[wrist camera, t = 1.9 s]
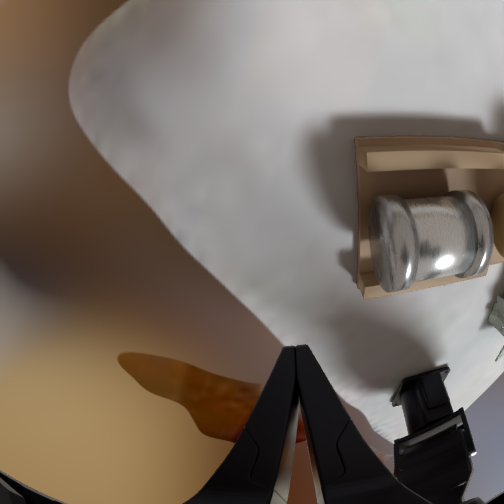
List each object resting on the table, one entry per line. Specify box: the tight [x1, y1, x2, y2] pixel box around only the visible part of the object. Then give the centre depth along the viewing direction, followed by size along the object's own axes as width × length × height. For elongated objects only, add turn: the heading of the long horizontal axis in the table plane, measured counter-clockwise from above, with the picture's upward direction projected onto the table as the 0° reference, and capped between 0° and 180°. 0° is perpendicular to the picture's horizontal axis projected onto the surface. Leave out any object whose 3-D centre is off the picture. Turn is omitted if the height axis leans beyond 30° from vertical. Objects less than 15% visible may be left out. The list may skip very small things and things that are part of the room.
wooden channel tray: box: [355, 136, 504, 299], centre depth 12 cm, size 10×18×7 cm, turn 101°
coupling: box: [368, 190, 494, 293], centre depth 13 cm, size 5×6×5 cm
